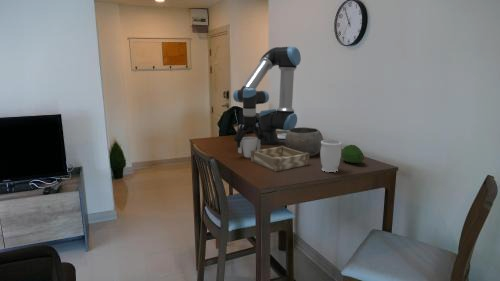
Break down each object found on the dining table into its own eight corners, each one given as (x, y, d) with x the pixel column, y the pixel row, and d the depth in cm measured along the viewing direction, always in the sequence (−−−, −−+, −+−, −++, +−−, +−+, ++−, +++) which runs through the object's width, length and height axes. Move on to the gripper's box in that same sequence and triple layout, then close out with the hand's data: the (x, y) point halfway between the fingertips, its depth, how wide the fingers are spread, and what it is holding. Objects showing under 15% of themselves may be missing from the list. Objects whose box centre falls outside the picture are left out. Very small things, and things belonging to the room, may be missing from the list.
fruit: (368, 166, 185) (369, 148, 183) (351, 167, 182) (353, 149, 180) (352, 159, 199) (354, 142, 197) (337, 160, 197) (338, 143, 194)
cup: (256, 159, 198) (256, 140, 196) (239, 158, 200) (239, 139, 198) (259, 154, 208) (259, 137, 205) (243, 154, 210) (242, 136, 207)
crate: (282, 155, 206) (282, 145, 204) (309, 164, 187) (309, 153, 186) (250, 161, 193) (250, 150, 192) (275, 171, 175) (276, 159, 173)
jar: (317, 167, 182) (318, 139, 178) (336, 167, 182) (337, 139, 179) (322, 173, 171) (324, 144, 168) (343, 173, 172) (344, 144, 169)
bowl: (280, 150, 220) (280, 126, 217) (313, 148, 225) (314, 125, 222) (291, 159, 198) (292, 133, 195) (328, 157, 203) (330, 132, 200)
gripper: (262, 113, 209) (262, 147, 213) (227, 116, 195) (228, 152, 200) (270, 114, 202) (269, 150, 207) (234, 117, 189) (234, 155, 193)
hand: (249, 151), depth 203 cm, fingers open, 12 cm apart
